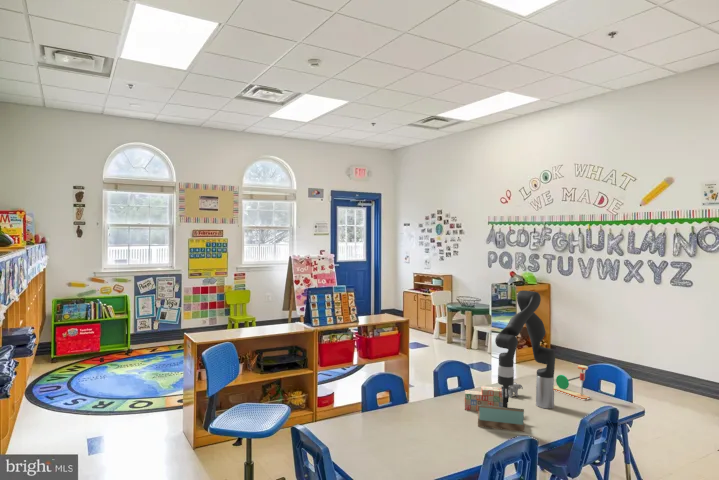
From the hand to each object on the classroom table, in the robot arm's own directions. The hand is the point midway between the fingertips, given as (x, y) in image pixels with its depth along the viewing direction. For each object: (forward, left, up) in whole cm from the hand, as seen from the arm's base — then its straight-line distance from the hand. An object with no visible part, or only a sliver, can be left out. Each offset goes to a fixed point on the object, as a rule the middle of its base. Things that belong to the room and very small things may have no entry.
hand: (505, 408), depth 231 cm
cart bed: (+2, -7, -11) cm, 13 cm away
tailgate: (+2, 0, -7) cm, 7 cm away
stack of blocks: (+10, -26, -11) cm, 30 cm away
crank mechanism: (-42, -70, -11) cm, 83 cm away
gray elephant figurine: (-8, -57, -11) cm, 58 cm away
